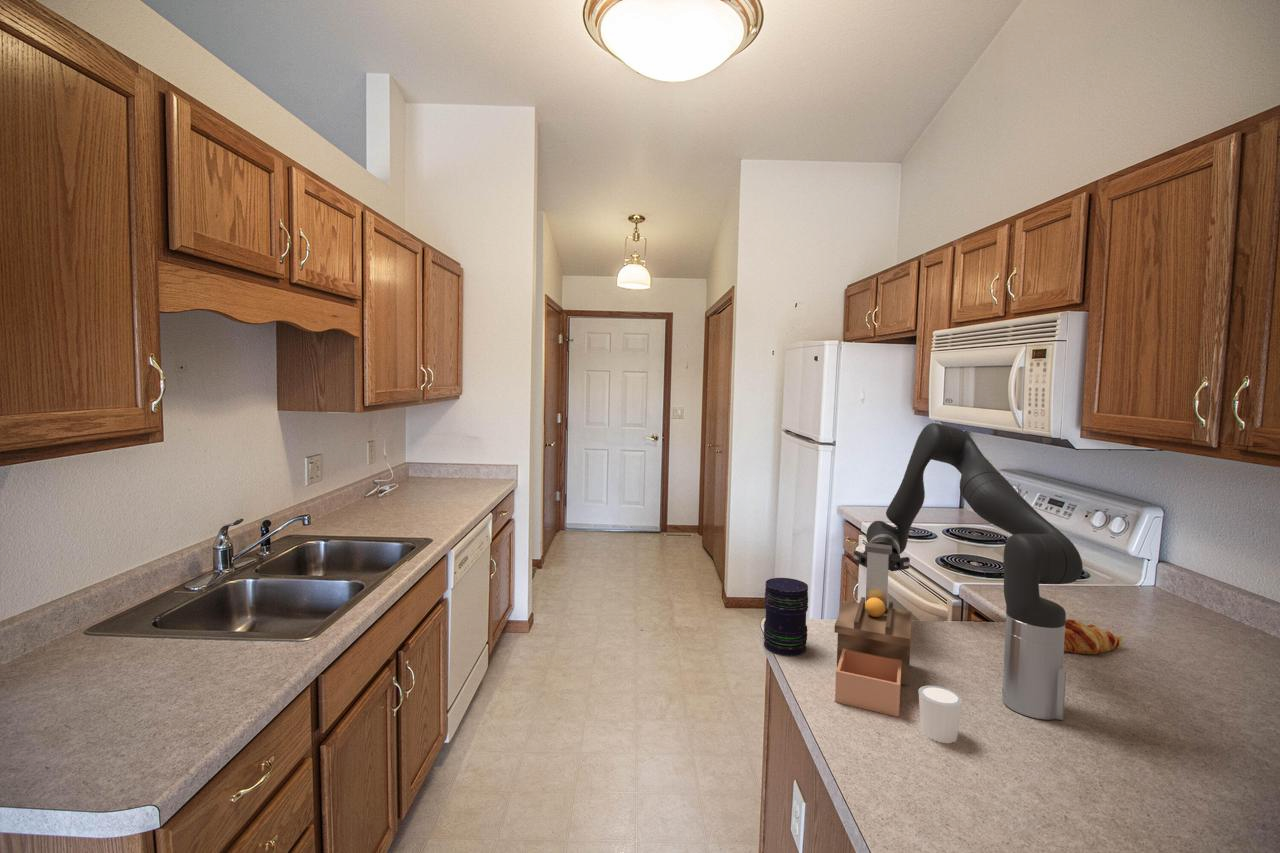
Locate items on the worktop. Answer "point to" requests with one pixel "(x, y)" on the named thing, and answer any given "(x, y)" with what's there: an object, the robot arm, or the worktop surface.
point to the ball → (875, 607)
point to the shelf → (875, 633)
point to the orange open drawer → (869, 682)
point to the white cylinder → (939, 713)
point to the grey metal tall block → (877, 571)
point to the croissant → (1088, 638)
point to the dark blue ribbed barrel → (785, 616)
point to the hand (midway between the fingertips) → (878, 569)
